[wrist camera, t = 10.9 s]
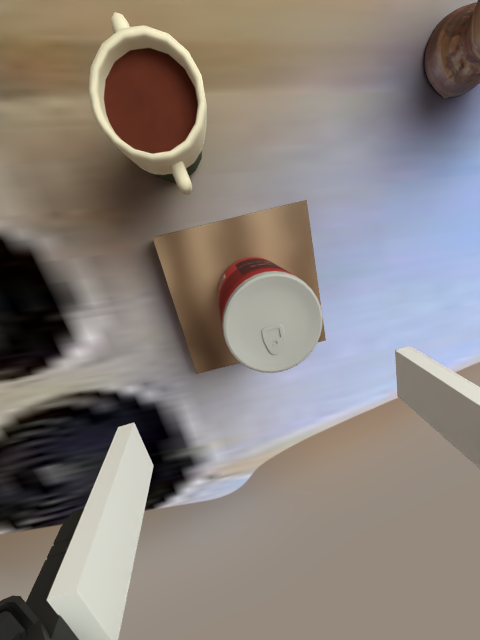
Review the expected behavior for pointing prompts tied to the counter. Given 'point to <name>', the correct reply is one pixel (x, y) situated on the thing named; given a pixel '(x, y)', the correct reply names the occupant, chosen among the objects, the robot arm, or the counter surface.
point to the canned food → (267, 315)
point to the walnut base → (214, 259)
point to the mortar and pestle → (455, 52)
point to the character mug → (150, 100)
